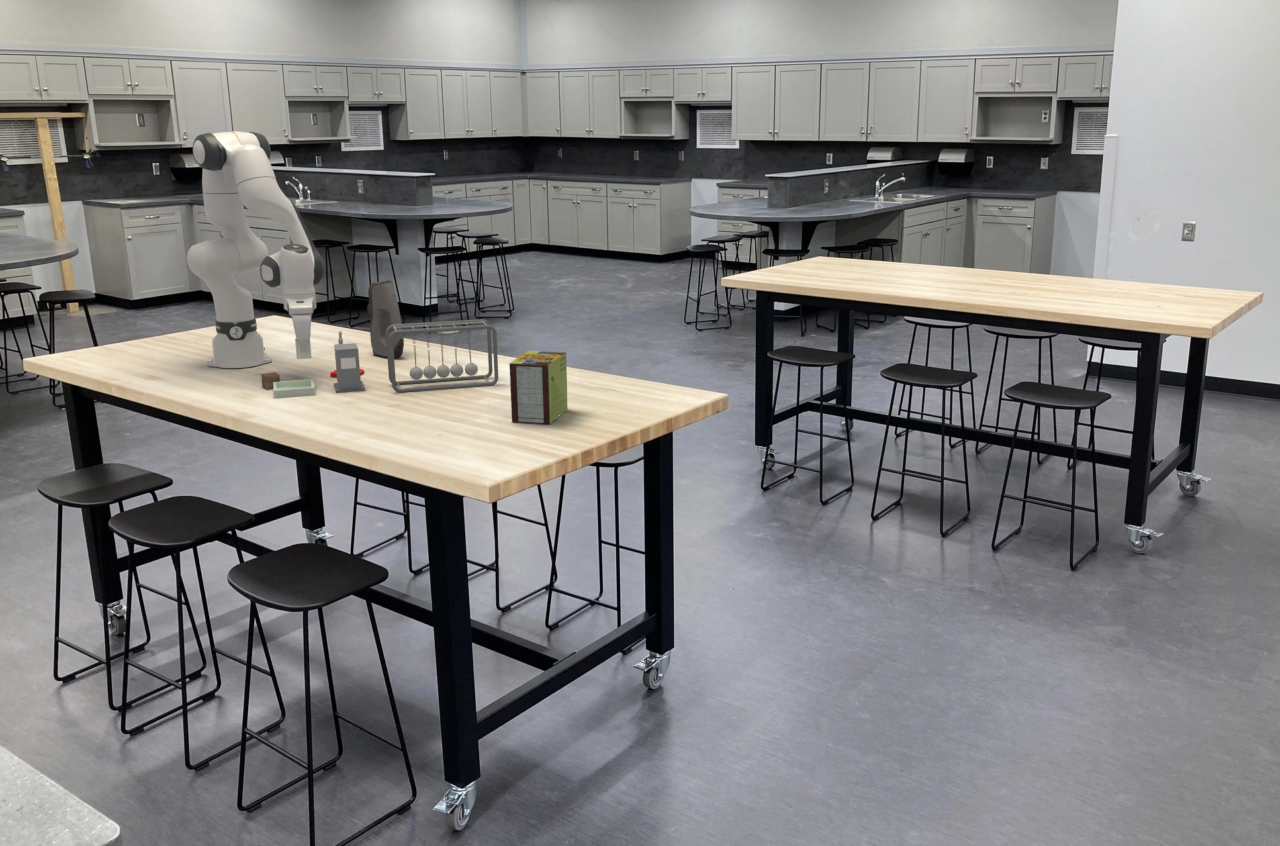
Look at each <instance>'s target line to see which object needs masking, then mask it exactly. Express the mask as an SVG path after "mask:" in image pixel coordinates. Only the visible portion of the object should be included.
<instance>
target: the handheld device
mask: <svg viewBox="0 0 1280 846" xmlns="http://www.w3.org/2000/svg"><path fill="white" fill-rule="evenodd" d="M366 311H367V314H368V316H369V321H370V323H369V324H370V329H369V333H370V345H371V349H372V354H373V356H374V355H376V356H378V357H381V358H386V359H388V358H387V343H386V329H387V328H388V327H389V326H390V325H393V324H403V323H402V318H401V313H400V308H399V302H398V299H397V293H396V290H395V287H394V282H393V281H392V280H388V279H387V280H381V281H376V282H372V283H370V284H369V287H368V304H367V306H366ZM396 330H404V328H396ZM393 331H395V329H391V330H390V334H391V333H392V332H393ZM404 337H405V336H404V334H396V335H394V337H393V348H394V359H397V358H398V359H399V358H401V356H403V352H404V347H405V338H404Z"/></svg>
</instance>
